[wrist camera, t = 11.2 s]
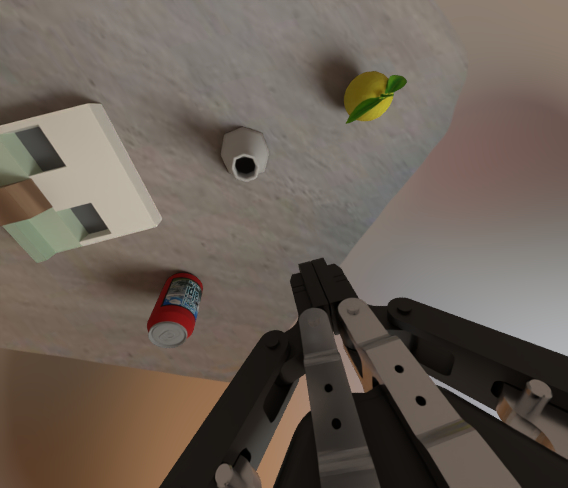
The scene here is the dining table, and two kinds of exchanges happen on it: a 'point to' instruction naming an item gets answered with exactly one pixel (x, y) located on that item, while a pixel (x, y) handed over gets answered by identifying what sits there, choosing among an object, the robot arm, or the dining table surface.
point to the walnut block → (21, 202)
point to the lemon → (370, 95)
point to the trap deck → (74, 180)
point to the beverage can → (175, 311)
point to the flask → (245, 153)
